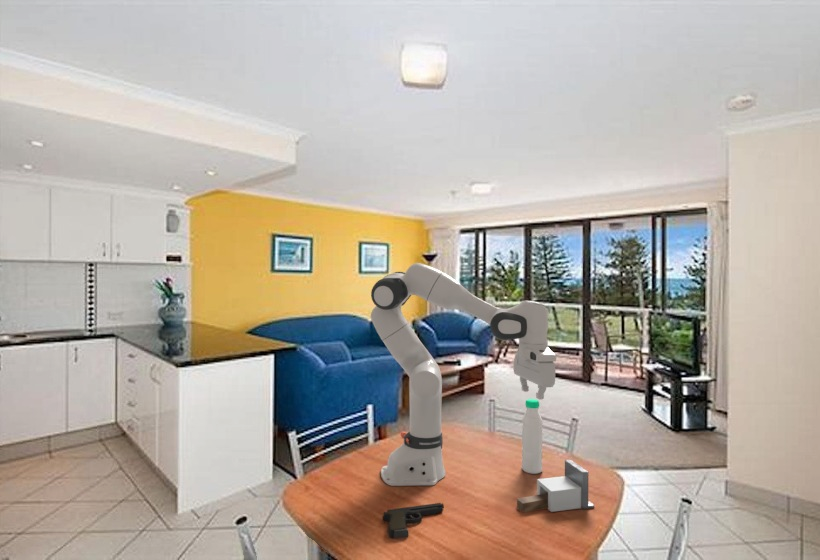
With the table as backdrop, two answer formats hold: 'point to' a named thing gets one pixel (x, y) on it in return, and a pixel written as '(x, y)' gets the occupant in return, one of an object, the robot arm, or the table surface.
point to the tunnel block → (560, 493)
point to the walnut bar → (532, 503)
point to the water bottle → (532, 438)
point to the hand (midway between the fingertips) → (532, 394)
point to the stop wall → (579, 481)
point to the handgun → (408, 518)
